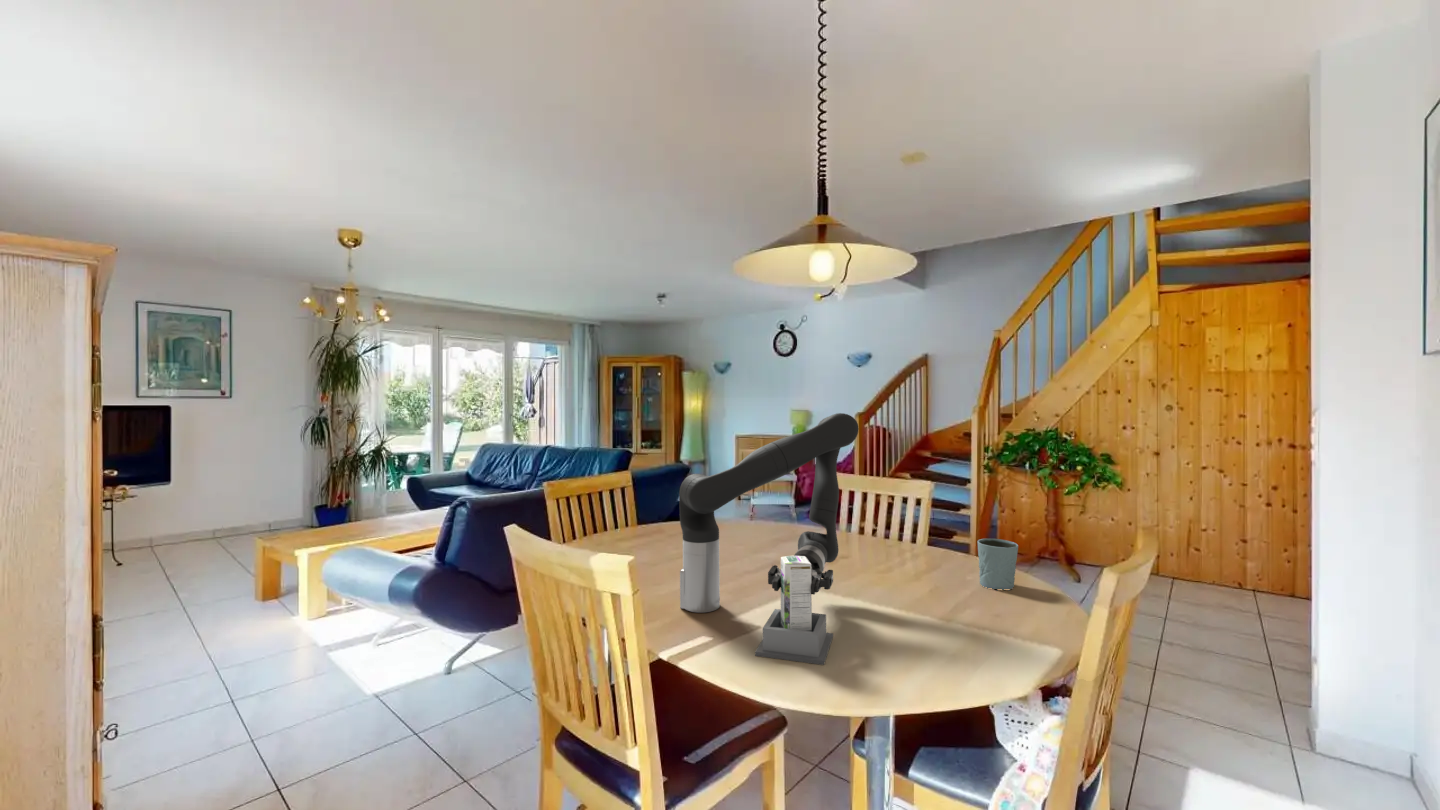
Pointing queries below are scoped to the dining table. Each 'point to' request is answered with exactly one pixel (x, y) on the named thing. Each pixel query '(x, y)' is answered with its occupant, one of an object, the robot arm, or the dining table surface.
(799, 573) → the syrup box
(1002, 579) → the grey-green plant pot
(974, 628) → the dining table surface
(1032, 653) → the dining table surface
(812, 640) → the holder
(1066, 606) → the dining table surface
